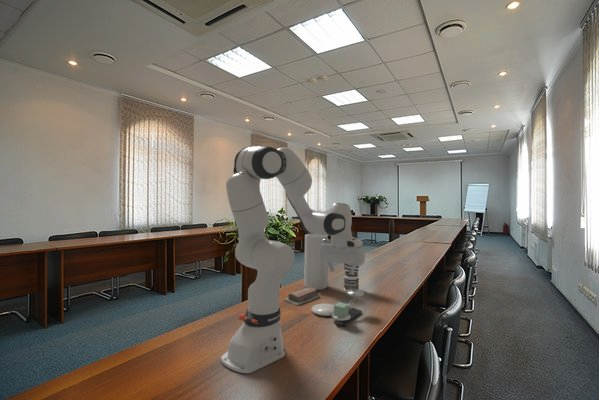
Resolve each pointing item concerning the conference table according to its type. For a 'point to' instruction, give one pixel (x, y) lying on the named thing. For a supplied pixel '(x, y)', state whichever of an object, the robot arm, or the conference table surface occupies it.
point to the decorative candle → (351, 278)
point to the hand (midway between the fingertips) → (341, 272)
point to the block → (341, 310)
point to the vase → (315, 263)
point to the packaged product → (302, 296)
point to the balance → (349, 309)
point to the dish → (323, 309)
